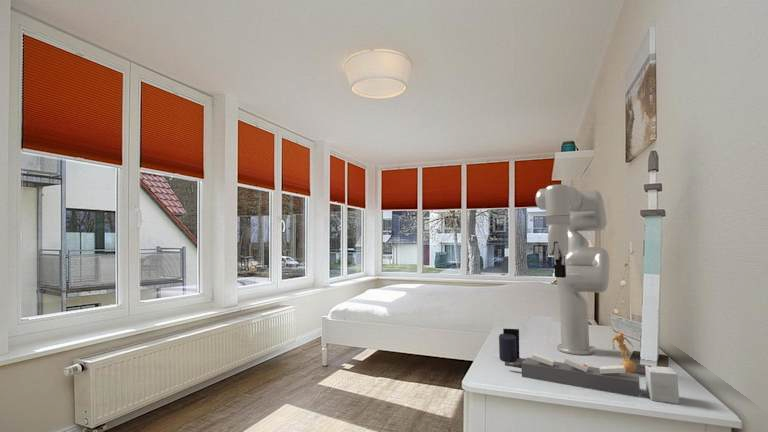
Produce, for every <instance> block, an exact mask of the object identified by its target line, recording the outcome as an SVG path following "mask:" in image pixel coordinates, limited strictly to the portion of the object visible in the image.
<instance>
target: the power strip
mask: <svg viewBox="0 0 768 432" xmlns="http://www.w3.org/2000/svg"><path fill="white" fill-rule="evenodd" d="M504 366H505V367H506V366H507V367H512V368H518V369H521V377H523V378H527V379H529V378H530V379H534V380H538V381H539V380H540V381H546V382H550V383H557V384H563V385H569V386H574V387H580V388H585V389H591V390H596V391H602V392H607V393H608V392H609V393H614V394H618V395H625V396H630V397H635V398H636V397H637V398H640V392H641V390H640V389H641V387H640V385H641V384H640V373H635V372H634V373H628V372H625V373H605V374H600V370H599V369H600V367H593V366H589V367H588V370H587V372H584V371H582V370H580V369H577V368H575V367H573V366H571V365H568V364H566V363H564V362H561V361H560V362H559V361H555V364H554V365H553V366H551V365H548V364H545V363H542V362H539V361H537V360H534V359H532V357H526V358H525V359H524V360H522V362H521V363H515V362H506V361H504Z"/></svg>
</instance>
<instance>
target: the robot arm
mask: <svg viewBox="0 0 768 432" xmlns="http://www.w3.org/2000/svg"><path fill="white" fill-rule="evenodd" d="M535 204H536V206H537V208H539V209H540V210H542V211H545V222H546V223H545V224H546V225H545V227H546V228H547V227H548V229H547V230H548V231H547V232H548V233H547V255H548V256H549V257H552V256H553V261H554V262H553V263H554V264H553V265H554V266H553V267H554V268H553V269H554V277H555V278H556V282H557V289H558V296H559V315H560V316H559V317H560V338H561V340H560V342H561V343H560V344H557V345H556V348H557V351H559V352H562V353H566V354H571V355H578V356H579V355H580V356H582V355H583V356H584V355H585V356H586V355H593V354H595V348H593V347H592V346H590V332H589V331H590V330H589V308H588V307H589V305H588V302H587V300H586V299H585V297H584V296H583V295H582V294H581V293H604V292H606V291H607V289H608V287H609V277H610V276H609V275H610V256H609V253H608V251H607V250H606V249H605V247H602V246H601V247H599V246H590V243H589V240H588V239H587V238H586V237H585V235H583V234H581V233H580V232H599V231H600V232H601V231H603V230H605V228H606V227H607V215H606V210H605V209H606V208H605V203H604V199H603V196H602V193H600V191H598V190H596V189H590V190H589V189H588V190H587V189H586V190H579V189H577V188H576V187H574V186H568V185H567V184H552V185H548V186H546V187H545V188H540V189H538V191H537V192H536V194H535Z"/></svg>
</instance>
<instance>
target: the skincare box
mask: <svg viewBox="0 0 768 432" xmlns="http://www.w3.org/2000/svg"><path fill="white" fill-rule="evenodd" d="M644 368H645V371H644V372H645V384H646V387H645V389H646V395H647V396H648V397H649V399H650V400H651V401H654V402H661V403H669V404H670V403H671V404H680V397H679V396H680V395H679V392H680V391H679V381H678V380H679V379H678V378H679V377H678V374H677V373H676V372H675V371H674V370H673V368H671V367H667V366H654V365H644Z"/></svg>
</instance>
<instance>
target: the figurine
mask: <svg viewBox="0 0 768 432" xmlns="http://www.w3.org/2000/svg"><path fill="white" fill-rule="evenodd" d="M625 340H626V342H628V343H629V345H631V347H632V348H633V349H634V348H635V347H634V345H633V344H632V343H631V342H630V340H629V339H628V338H627V337H626V336H625V335H624V333H623V332H620V333H615V334H614V337H613V338H612V339H611V344H612V350H613V351H615V350H616V347H615V342H614V341H616V342H617V343H618V345H617V347H618V349H619V350H620V351H621V353H620V354H621V358H622V359H623V360H622V361H621V363H620V365H624V366H625V369H626V371H625V372H628V373H635V372H636V370H637V366H636V364H635V362H634V361H632V360H631V359H630V358H629V357H628V354H629V353H630V350H629V348H628V347H627V345H626V344H624V341H625Z"/></svg>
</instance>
